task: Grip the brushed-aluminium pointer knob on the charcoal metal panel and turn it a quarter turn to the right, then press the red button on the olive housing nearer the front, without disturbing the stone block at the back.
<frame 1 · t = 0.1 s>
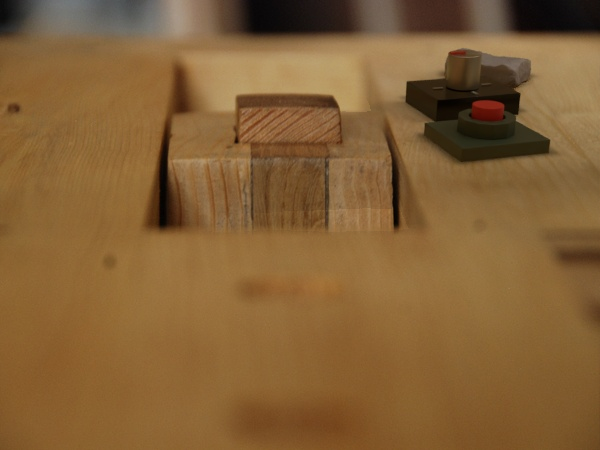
dial: (463, 69, 109), point 5 cm above the table, hinge at 0.0°
button box: (483, 148, 96), on the table
button: (487, 111, 94), point 4 cm above the table, slide at 0.1 cm
stone block: (489, 79, 127), on the table
panel: (460, 108, 111), on the table
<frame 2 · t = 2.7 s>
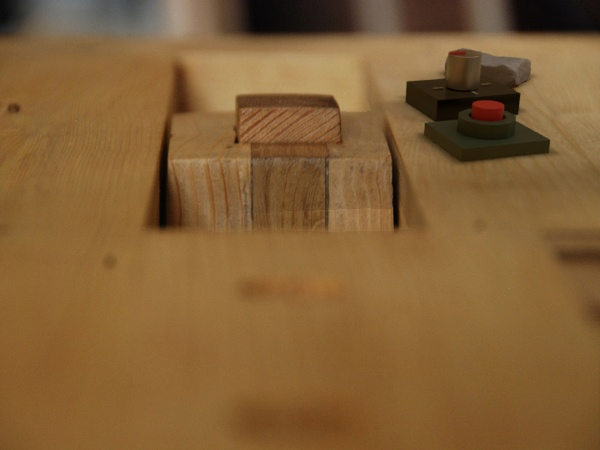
nothing on the table moved.
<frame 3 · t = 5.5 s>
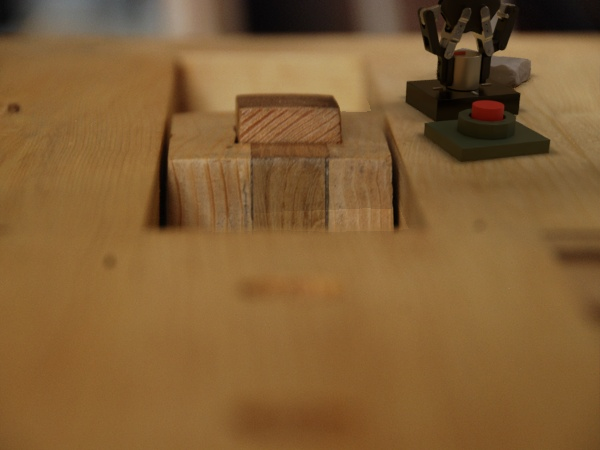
hand: (462, 83, 110), 4 cm above the table, tool pointing down, fingers closed on dial, 4 cm apart
dial: (463, 69, 109), point 5 cm above the table, hinge at 0.4°, touching gripper
everything else where it was.
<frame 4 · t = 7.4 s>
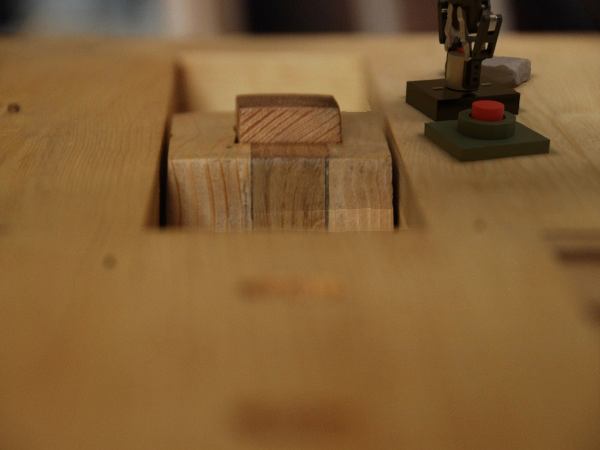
hand: (461, 83, 110), 4 cm above the table, tool pointing down, fingers closed on dial, 4 cm apart
dial: (463, 69, 109), point 5 cm above the table, hinge at -93.2°, touching gripper
everything else where it was.
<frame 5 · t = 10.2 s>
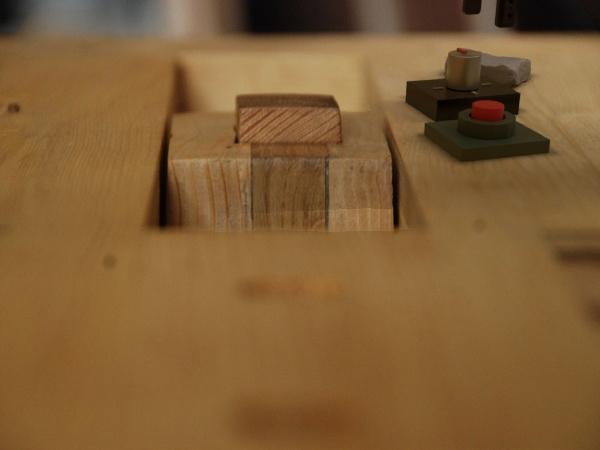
hand: (487, 20, 97), 14 cm above the table, tool pointing down, fingers open, 8 cm apart
dial: (463, 69, 109), point 5 cm above the table, hinge at -92.7°
everything else where it was.
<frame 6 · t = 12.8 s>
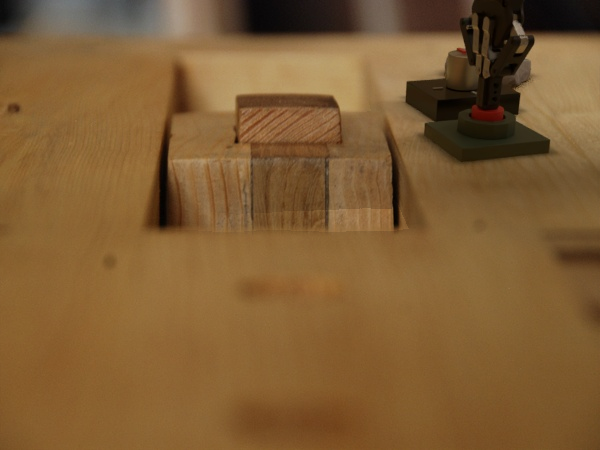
hand: (487, 108, 94), 5 cm above the table, tool pointing down, fingers closed
button: (487, 115, 94), point 4 cm above the table, slide at -0.3 cm, touching gripper
everything else where it was.
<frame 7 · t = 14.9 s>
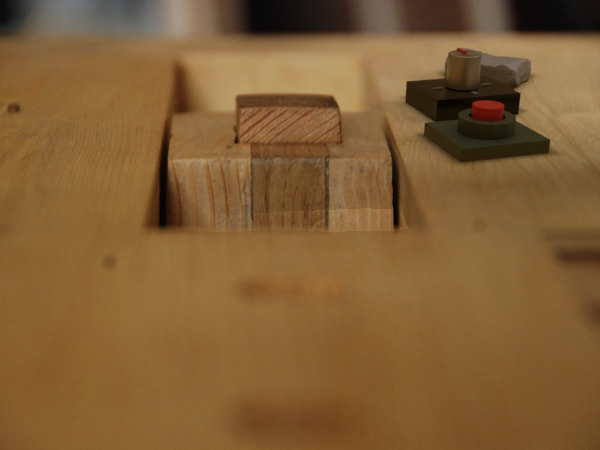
button: (487, 111, 94), point 4 cm above the table, slide at 0.1 cm
everything else where it was.
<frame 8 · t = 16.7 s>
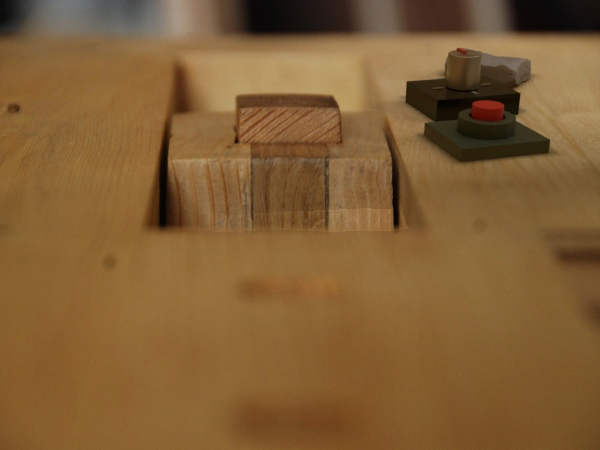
nothing on the table moved.
at the end: dial at -93° (first picture: +0°); button pushed in 1.2 cm at the most during the clip, back to where it started at the end; stone block moved 0.2 cm from its start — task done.
